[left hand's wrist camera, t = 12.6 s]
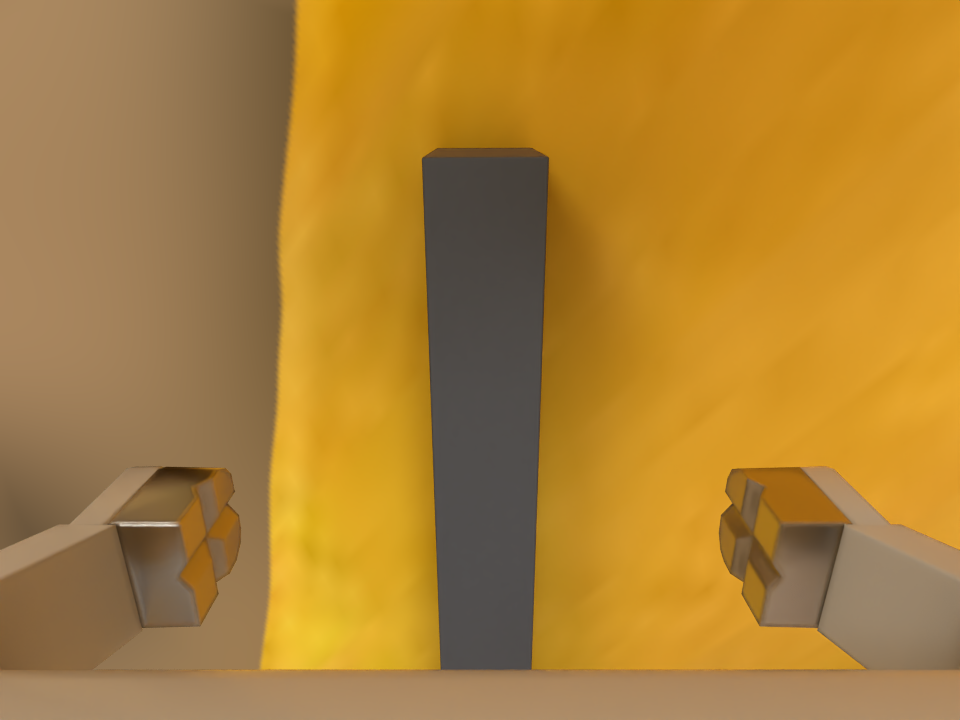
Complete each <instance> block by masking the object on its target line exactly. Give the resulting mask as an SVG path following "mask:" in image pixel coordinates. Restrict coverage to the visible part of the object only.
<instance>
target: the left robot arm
mask: <svg viewBox="0 0 960 720" xmlns="http://www.w3.org/2000/svg"><path fill="white" fill-rule="evenodd" d="M234 492H235V490H234V485H233V481H232V476H231V473H230V472H229V471H228V470H227V469H226V468H199V467H161V466H153V467H132V468H127V469H126V470H125V471H124V472H123V473H122V474H121V475H120V476H119V477H118V478H117V479H116V480H115V481H114V482H113V483H112V484H111V485H109V486H108V488H106V489H105V490H104V491H103V492H102V493H101V494H100V495H99V496H98V497H97V498H96V499H95V500H94V501H93V502H92V503H91V504H90V505H89V506H88V507H87V508H86V509H85V510H84V511H83V512H82V513H81V514H80V515H79V516H78V517H77V518H76V519H75V520H73V522H71V523H70V524H69V525H57V526H55V527H52V528H50V529H48V530H45V531H43V532H41V533H39V534H36V535H34V536H32V537H29V538H27V539H25V540H23V541H20V542H18V543H16V544H13V545H11V546H9V547H7V548H4V549H2V550H0V720H960V550H958V549H956V548H953V547H951V546H949V545H947V544H944V543H942V542H940V541H937V540H935V539H933V538H931V537H928V536H926V535H924V534H921V533H919V532H917V531H915V530H912V529H910V528H908V527H905V526H903V525H891V524H890V523H889V522H888V521H887V520H886V519H885V518H884V517H882V516H881V515H880V514H879V513H878V512H877V511H876V510H875V509H874V508H873V507H872V506H871V505H870V504H869V503H868V502H867V501H866V500H865V499H864V498H863V497H862V496H861V495H860V494H859V493H858V492H857V491H856V490H855V489H854V488H853V487H852V486H851V485H850V484H849V483H848V482H847V481H846V480H845V479H843V478H842V477H841V476H840V475H839V474H838V473H837V472H836V471H835V470H834V469H832V468H829V467H827V466H816V467H786V468H745V469H732V470H731V472H730V474H729V476H728V479H727V484H726V490H725V492H726V494H727V495H728V497H729V498H730V500H731V501H732V505H731V506H730V507H729V508H728V509H727V510H726V511H725V512H724V513H723V514H722V515H721V520H720V528H719V539H720V550H721V553H722V556H723V560H724V562H725V564H726V566H727V568H728V570H729V572H730V574H732V575H733V576H735V577H737V578H738V579H740V580H741V581H743V582H744V583H743V589H742V596H743V597H744V599H745V601H746V603H747V604H748V606H749V608H750V610H751V612H752V613H753V615H754V617H755V619H756V620H757V622H758V624H759V626H768V627H804V628H818V630H817V631H819V632H820V633H821V634H823V635H824V636H825V637H826V638H828V639H829V640H830V641H832V642H833V643H834V644H835V645H837V646H838V647H839V648H841V649H842V650H843V651H844V652H846V653H847V654H848V655H850V656H851V657H852V658H853V659H855V660H856V661H857V662H859V663H860V664H861V665H862V666H864V667H865V668H866V669H868V670H93V669H94V668H95V667H96V666H98V665H99V664H100V663H102V662H103V661H104V660H106V659H107V658H108V657H109V656H111V655H112V654H113V653H114V652H116V651H117V650H118V649H120V648H121V647H122V646H124V645H125V644H126V643H127V642H129V641H130V640H131V639H133V638H134V637H135V636H136V635H138V634H139V633H140V632H141V631H142V628H154V627H190V626H201V624H202V622H203V620H204V619H205V617H206V615H207V613H208V612H209V610H210V608H211V606H212V604H213V603H214V601H215V599H216V597H217V595H218V589H217V583H216V582H217V581H219V580H220V579H222V578H223V577H225V576H226V575H228V574H230V572H231V570H232V568H233V566H234V564H235V562H236V560H237V556H238V552H239V548H240V543H241V526H240V520H239V515H238V514H237V513H236V512H235V511H234V510H233V509H232V508H231V507H230V506H229V505H228V501H229V500H230V498H231V497H232V495H233V494H234Z"/></svg>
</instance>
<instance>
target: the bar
mask: <svg viewBox="0 0 960 720" xmlns="http://www.w3.org/2000/svg"><path fill="white" fill-rule="evenodd" d="M548 168H549V158H548V157H547V156H545V155H543V154H542V153H540V152H538V151H536V150H534V149H533V148H437V149H436V150H434V151H432V152H431V153H429V154H428V155H426V156H425V157H423V158H422V171H423V198H424V225H425V253H426V280H427V307H428V334H429V361H430V388H431V415H432V443H433V470H434V497H435V524H436V551H437V578H438V605H439V633H440V660H441V670H531V665H532V636H533V606H534V577H535V548H536V519H537V490H538V460H539V431H540V402H541V373H542V344H543V314H544V285H545V256H546V227H547V198H548Z"/></svg>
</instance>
